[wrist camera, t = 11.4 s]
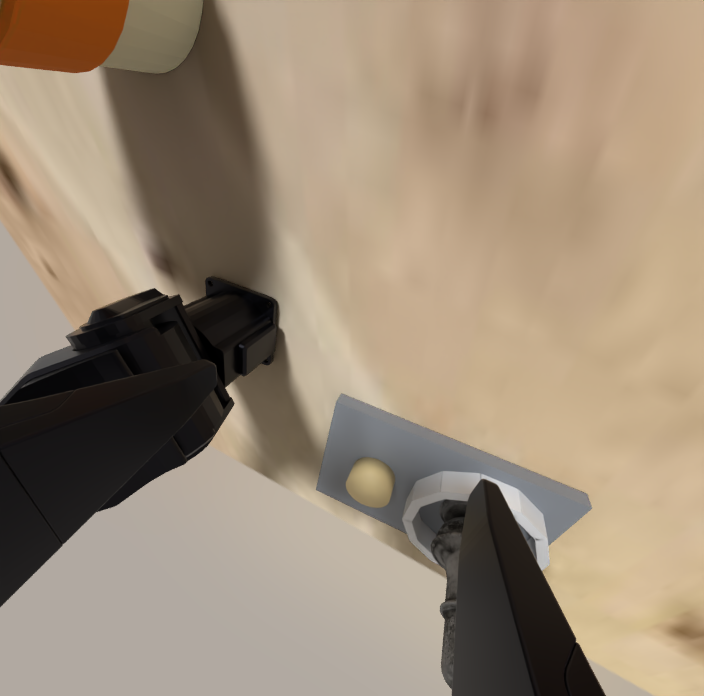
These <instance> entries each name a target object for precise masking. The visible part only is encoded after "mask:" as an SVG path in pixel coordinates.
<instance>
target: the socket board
mask: <svg viewBox="0 0 704 696" xmlns="http://www.w3.org/2000/svg"><path fill="white" fill-rule="evenodd" d="M481 479H487V480H489V481H491V482H494V483H496V484H497V485H498V486H499V488H500V490H501V492H502V494H503V496H504V498H505V500H506V502H507V504H508V506H509V508H510V510H511V511H512V513H513V515H514V517H515V519H516V521H517V523H518V525H519V527H520V529H521V531H522V533H523V535H524V537H525V539H526V541H527V543H528V545H529V547H530V549H531V551H532V553H533V555H534V557H535V559H536V561H537V563H538V565H539V567H540V568H541V570H543V569H545V568H546V567H547V566H549V564H550V561H549V548H548V546H549V545H550V544H551V543H552V542H554V541H555V540H556V539H557V538H558V537H559V536H561V535H562V534H563V533H564V532H565V531H566V530H568V529H569V528H570V527H571V526H572V525H573V524H575V523H576V522H577V521H578V520H579V519H580V518H582V517H583V516H584V515H585V514H586V513H587V512H589V511H590V510H591V509H592V507H591V504H590V501H589V498H588V495H587V494H586V493H584V492H581V491H579V490H576V489H574V488H571V487H569V486H566V485H564V484H562V483H559V482H557V481H554V480H552V479H549V478H547V477H544V476H542V475H540V474H537V473H535V472H532V471H530V470H527V469H525V468H522V467H520V466H518V465H515V464H513V463H510V462H508V461H505V460H503V459H500V458H498V457H496V456H493V455H491V454H488V453H486V452H483V451H481V450H478V449H476V448H474V447H471V446H469V445H466V444H464V443H461V442H459V441H456V440H454V439H452V438H449V437H447V436H444V435H442V434H439V433H437V432H434V431H432V430H430V429H427V428H425V427H422V426H420V425H417V424H415V423H413V422H410V421H408V420H405V419H403V418H400V417H398V416H395V415H393V414H391V413H388V412H386V411H383V410H381V409H378V408H376V407H373V406H371V405H369V404H366V403H364V402H361V401H359V400H356V399H354V398H351V397H349V396H347V395H344V394H342V393H341V395H340V397H339V398H338V400H337V401H336V405H335V409H334V413H333V418H332V422H331V426H330V431H329V435H328V440H327V444H326V448H325V453H324V457H323V461H322V466H321V470H320V474H319V479H318V483H317V487H316V490H317V491H319V492H321V493H324V494H326V495H328V496H330V497H332V498H334V499H336V500H338V501H340V502H342V503H344V504H346V505H348V506H350V507H352V508H355V509H357V510H359V511H361V512H363V513H365V514H367V515H369V516H371V517H373V518H375V519H377V520H379V521H381V522H383V523H386V524H388V525H390V526H392V527H394V528H396V529H398V530H400V531H402V532H404V533H406V534H407V535H408V538H409V540H410V542H411V543H412V544H413V545H415V546H416V547H417V548H418V549H419V550H420V551H421V552H422V553H423V554H424V555H425V556H426V557H427V558H428V559H429V560H430V561H432V562H434V563H436V564H438V563H437V561H436V560H435V559H434V557H433V555H432V553H431V543H432V541H433V539H434V538H436V535H437V533H438V531H439V529H440V528H441V526H442V525H443V524H444V522H443V520H442V519H441V516H440V513H439V508H440V505H441V503H442V502H443V501H444V500H446V499H449V500H459V501H468V498H469V495H470V494H471V492H472V491H473V489H474V488H475V487H476V485H477V484H478V482H479V481H480V480H481ZM438 565H439V564H438Z"/></svg>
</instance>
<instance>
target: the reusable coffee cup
mask: <svg viewBox="0 0 704 696" xmlns="http://www.w3.org/2000/svg"><path fill="white" fill-rule="evenodd" d="M202 9H203V0H0V65H6V66H15V67H24V68H34V69H43V70H52V71H61V72H70V73H80V72H88V71H91V70H93V69H94V68H96V67H98V66H102V67H110V68H117V69H125V70H132V71H139V72H147V73H154V74H158V73H167V72H169V71H171V70H173V69H175V68H177V67H178V66H179V65H180V64H181V63H182V62H183V61H184V60H185V59H186V57H187V55H188V54H189V52H190V50H191V49H192V47H193V45H194V42H195V39H196V36H197V34H198V31H199V26H200V21H201V16H202Z"/></svg>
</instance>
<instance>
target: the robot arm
mask: <svg viewBox="0 0 704 696" xmlns="http://www.w3.org/2000/svg"><path fill="white" fill-rule="evenodd" d="M211 281H212V282H211ZM212 283H213V284H212ZM205 284H206V296H205V297H203V298H201V299H198V300H196V301H194V302H191V303H189V304H187V305H185V306H183V304H182V302H183V301H182V299H181V297H180V295H179V294H178V295H173V296H169V297H168V295H165V294H164V295H163V294H162V293H160V292H159V291H158V290H156V289H155V288H154V289H150V290H147V291H144V292H141V293H138V294H135V295H132V296H129V297H126V298H124V299H121V300H118V301H116V302H113V303H111V304H108V305H106V306H104V307H101V308H99V309H96V310H94V311H92V313H91V316H90V318H89V320H88V322H87V323H85V324H83V325H82V326H80V327H79V329H78V330H76V331H74V332H72V333H70V334H69V335H67V336H66V338H67V339H68V341H69V342H70V343H71V346H68V347H66V348H63V349H60V350H58V351H55V352H52V353H50V354H47V355H45V356H43V357H41V358H39V359H38V360H37V361H36V362H35V363H34V364H33V365H32V366H31V367H30V368H29V369H28V370H27V372H26V373H25V374H24V375H23V376H22V377H21V378H20V379H19V380H18V381H17V382H16V384H15V385H14V386H13V387H12V388H11V389H10V390H9V391H8V392H7V393H6V395H5V396H4V397H3V398H2V399H1V400H0V607H1V606H2V605H3V604H4V603H5V602H6V601H7V600H8V599H9V598H10V597H11V596H12V595H13V594H14V593H15V592H16V591H17V590H18V589H19V588H20V587H21V586H22V585H23V584H24V583H25V582H26V581H27V580H28V579H29V578H30V577H31V576H32V575H33V574H34V573H35V572H36V571H37V570H38V569H39V568H40V567H41V566H42V565H43V564H44V563H45V562H46V561H47V560H48V559H49V558H50V557H51V556H52V555H53V554H54V553H55V552H57V551H58V549H60V548H61V547H62V545H63V544H64V543H65V542H66V541H67V540H68V539H69V538H70V537H71V536H72V535H73V534H74V533H75V532H76V531H77V530H78V529H79V528H80V527H81V526H82V525H83V524H84V523H86V522H87V520H89V519H90V518H91V517H92V515H94V514H95V513H96V512H98V511H101V510H104V509H108V508H111V507H114V506H116V505H118V504H119V503H121V502H122V501H124V500H125V499H126V498H128V497H129V496H130V495H132V494H133V493H135V492H136V491H137V490H139V489H140V488H142V487H143V486H144V485H146V484H147V483H149V482H150V481H152V480H154V479H155V478H157V477H159V476H161V475H162V474H164V473H165V472H168V471H170V470H172V469H175V468H177V467H179V466H181V465H184V464H185V463H186V462H187V461H188V460H190V459H191V458H193V457H195V456H196V455H197V454H199V453H200V452H201V451H203V450H204V448H205V447H207V446H208V444H209V443H210V442H211V441H212V439H213V437H214V436H215V434H216V433H217V431H218V430H219V428H220V426H221V425H222V423H223V422H224V420H225V418H226V417H227V415H228V414H229V412H230V411H231V409H232V407H233V406H234V404H235V403H234V401H233V399H232V398H231V397H230V396H229V394H228V393H227V391H226V389H225V387H226V386H228V385H229V384H230V383H231V382H233V381H234V380H235V379H236V378H237V377H239V376H240V375H242V376H246V375H248V374H249V373H250V372H251V371H252V370H253V369H255V368H256V367H257V366H258V365H259V364H261V363H262V364H264V365H270V364H271V363H272V362H273V354H274V352H275V344H276V330H277V327H276V310H277V303H276V301H275V299H274V298H272V297H269V296H266V295H264V294H261V293H258V292H255V291H252V290H250V289H247V288H244V287H241V286H239V285H236V284H233V283H230V282H227V281H225V280H222V279H219V278H216V277H214V276H211V277H208V278H206V280H205ZM269 302H270V303H271V306H270V305H269ZM452 696H606V695H605V693H604V691H603V689H602V688H601V685H600V684H599V682H598V680H597V678H596V676H595V674H594V672H593V670H592V669H591V667H590V665H589V663H588V661H587V659H586V657H585V655H584V653H583V651H582V649H581V647H580V645H579V644H578V643H577V642H576V637H575V635H574V633H573V631H572V629H571V627H570V626H569V624H568V622H567V620H566V618H565V616H564V614H563V612H562V610H561V608H560V606H559V604H558V602H557V600H556V598H555V596H554V594H553V592H552V590H551V588H550V586H549V584H548V582H547V580H546V578H545V576H544V574H543V572H542V570H541V568H540V567H539V565H538V563H537V561H536V559H535V557H534V555H533V553H532V551H531V549H530V547H529V545H528V543H527V541H526V539H525V537H524V535H523V533H522V531H521V529H520V527H519V525H518V523H517V521H516V519H515V517H514V515H513V513H512V511H511V510H510V508H509V506H508V504H507V502H506V500H505V498H504V496H503V494H502V492H501V490H500V488H499V486H498V485H497V484H496V483H494V482H491V481H489V480H487V479H481V480H480V481H479V482H478V484H477V485H476V487H475V488H474V489H473V491H472V492H471V494H470V495H469V498H468V502H467V508H466V514H465V520H464V526H463V532H462V538H461V544H460V551H459V561H458V579H457V600H456V620H455V640H454V661H453V681H452Z"/></svg>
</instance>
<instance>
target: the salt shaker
mask: <svg viewBox="0 0 704 696" xmlns="http://www.w3.org/2000/svg"><path fill="white" fill-rule="evenodd" d="M467 502H468V501H459V500H449V499H446V500H444V501H443V502H442V503H441V505H440V508H439V513H440V516H441V519H442V520H443V522H444V524H443V525H442V526H441V528H440V529H439V531H438V533H437V535H436V538H434V539H433V541H432V543H431V553H432V555H433V557H434V559H435V560H436V561H437V563H438V564H439V565H440V566H441V567H442V568H444V569H445V570H446V574H447V588H446V599H445V602H444V603H442V604H441V606H440V612H441V615H442V616H443V618H444V619H445V624H444V637H443V648H442V659H441V660H442V661H441V668H442V674H443V677H444V679H445V681H446V683H447V684H448V685H449V687H450V688H451V689H452V681H453V661H454V640H455V620H456V600H457V579H458V561H459V551H460V544H461V538H462V532H463V526H464V520H465V514H466V508H467Z"/></svg>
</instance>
